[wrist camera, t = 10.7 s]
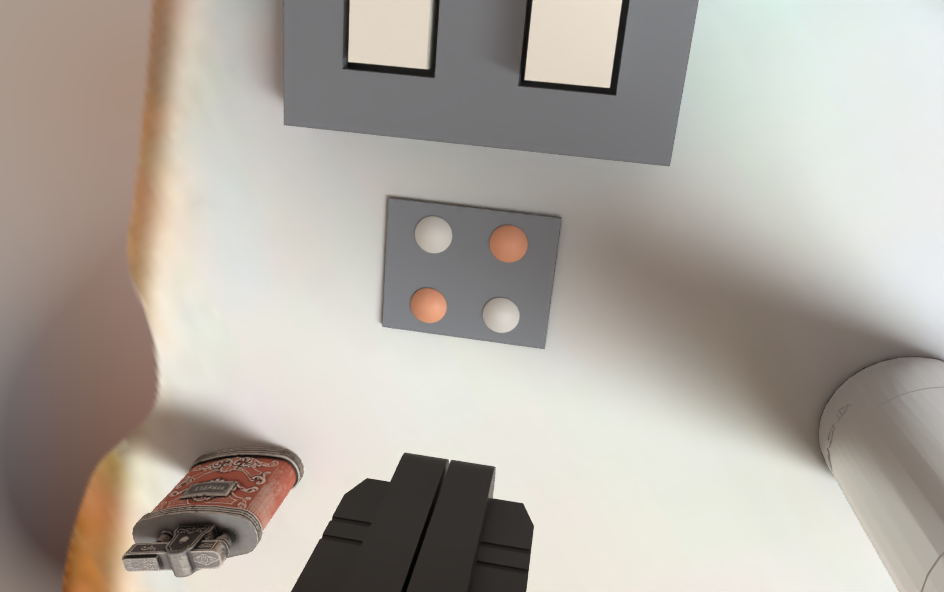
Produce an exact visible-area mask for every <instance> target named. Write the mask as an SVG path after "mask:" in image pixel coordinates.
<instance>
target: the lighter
mask: <svg viewBox="0 0 944 592" xmlns="http://www.w3.org/2000/svg"><path fill="white" fill-rule="evenodd" d="M303 474H304V465H303V463H302V461H301V459H300V458H299V457H298V455H297V454H295V453H294V452H292V451H289V450H286V449H277V448H267V447H241V448H234V449H227V450H221V451H217V452H213V453H210V454H206V455H203V456H201V457H199V458H198V459H197V460H196V461H195V462H194V463H193V464H192V466H191V467H190V470H189V473H188V474H187V475H186V476H185V477H184V478H183V479H182V480H181V481H180V482H179V483H178V484H177V485H176V486H175V487H174V489H173V490H172V491H171V492H170V493H169V494H168V495H167V496H166V497H165V498H164V499H163V500H162V501H161V502H160V503H159V504H158V506H157V507H156V508H155V509H154V510H153V511H152V512H151V513H148V514H146V515H144V516H143V517H142V518H141V519H140V520H139V521H138V522H137V523H136V525H135V526H134V527H133V533H132V534H133V539H134V541H135V543H136V544H134V545H132V546H131V548H130V549H129V550H128V551H127V552H126V553H125V554H124V555H123V557H122V561H123V565H124V568H125V570H127V571H158V570H173V572H174V575H175V576H176V577H186V576H189V575H191V574H193V573H194V572H196V571H199V570H200V569H215V568H219V567H220V566H221V565H222V564H223V562H224V561H225V559H226V558H229V557H234V556H238V555H243V554H247V553H249V552H251V551H253V550H254V548H255V547H256V546H257V544H258V543H259V541H260V540H261V538H262V534H263V532H262V531H263V530H264V528H265V527H266V525H267V524H268V522H269V521H270V519H271V518H272V516H273V515H274V513H275V512H276V510H277V509H278V508H279V506H280V505H281V503H282V502H283V500H284V499H285V497H286V496H287V494H288V493H289V491H290V490H291V489H293V488H295V487H296V486H297V484H298V483H299V481H300V480H301V478H302V477H303Z"/></svg>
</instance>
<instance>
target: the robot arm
mask: <svg viewBox="0 0 944 592" xmlns="http://www.w3.org/2000/svg"><path fill="white" fill-rule="evenodd" d="M819 442H820V449H821V451H822V454H823V457H824V459H825V462H826V463H827V465H828V467H829V469H830V470H831V472H832V474H833V476H834V477H835V479H836V481H837V483H838V485H839V486H840V488H841V490H842V492H843V493H844V495H845V497H846V499H847V501H848V503H849V504H850V506H851V508H852V510H853V512H854V513H855V515H856V517H857V519H858V520H859V522H860V524H861V526H862V527H863V529H864V531H865V533H866V534H867V536H868V538H869V540H870V541H871V543H872V545H873V547H874V548H875V550H876V552H877V554H878V556H879V557H880V559H881V561H882V563H883V564H884V566H885V568H886V570H887V571H888V573H889V575H890V577H891V578H892V580H893V582H894V584H895V585H896V587H897V589H898V591H899V592H944V362H943V361H940V360H937V359H931V358H924V357H901V358H895V359H891V360H886V361H882V362H879V363H877V364H874V365H872V366H869V367H867V368H865V369H863V370H861V371H860V372H858V373H856V374H855V375H853V376H852V377H850V378H849V379H848V380H847V381H845V382H844V383H843V384H842V385H841V386H840V387H839V388H838V389H837V390H836V391H835V393H834V394H833V396H832V397H831V398H830V400H829V401H828V403H827V404H826V407H825V409H824V412H823V414H822V417H821V420H820V427H819ZM494 481H495V467H493V466H487V465H481V464H474V463H468V462H462V461H455V460H451V462H450V464H449V460H448V459H442V458H435V457H429V456H423V455H416V454H410V453H404V454H403V456H402V458H401V460H400V462H399V464H398V466H397V468H396V471H395V473H394V475H393V477H392V479H391V481H390V482H387V481H381V480H375V479H369V478H367V479H365V480H364V481H363V482H361V483H360V484H358V485H357V486H356V487H354V488H353V489H352V490H350V491H349V492H347V493H346V494H345V495H344V496H343V498H342V500H341V502H340V504H339V505H338V507H337V509H336V511H335V513H334V515H333V517H332V521H330V522H329V524H328V525H327V527H326V529H325V531H324V533H323V536H322V539H320V540H319V542H318V544H317V546H316V547H315V549H314V551H313V553H312V555H311V556H310V558H309V560H308V562H307V564H306V566H305V567H304V569H303V571H302V573H301V575H300V576H299V578H298V580H297V582H296V584H295V586H294V587H293V589H292V591H291V592H526V588H527V580H528V571H529V563H530V554H531V546H532V537H533V529H534V525H533V523H532V521H531V519H530V517H529V515H528V513H527V511H526V509H525V507H524V504H523V503H517V502H511V501H505V500H499V499H493V490H494Z"/></svg>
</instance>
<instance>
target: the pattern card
mask: <svg viewBox="0 0 944 592" xmlns="http://www.w3.org/2000/svg"><path fill="white" fill-rule="evenodd" d="M560 225H561V218H559V217H551V216H542V215H534V214H525V213H516V212H508V211H499V210H491V209H482V208H474V207H465V206H457V205H448V204H439V203H431V202H422V201H414V200H405V199H397V198H389V199H388V216H387V238H386V259H385V280H384V302H383V323H382V327H388V328H395V329H402V330H410V331H417V332H424V333H431V334H439V335H446V336H453V337H460V338H468V339H475V340H482V341H489V342H497V343H504V344H511V345H518V346H526V347H533V348H540V349H545V342H546V334H547V326H548V318H549V311H550V303H551V295H552V287H553V279H554V272H555V264H556V256H557V248H558V240H559V233H560Z"/></svg>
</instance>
